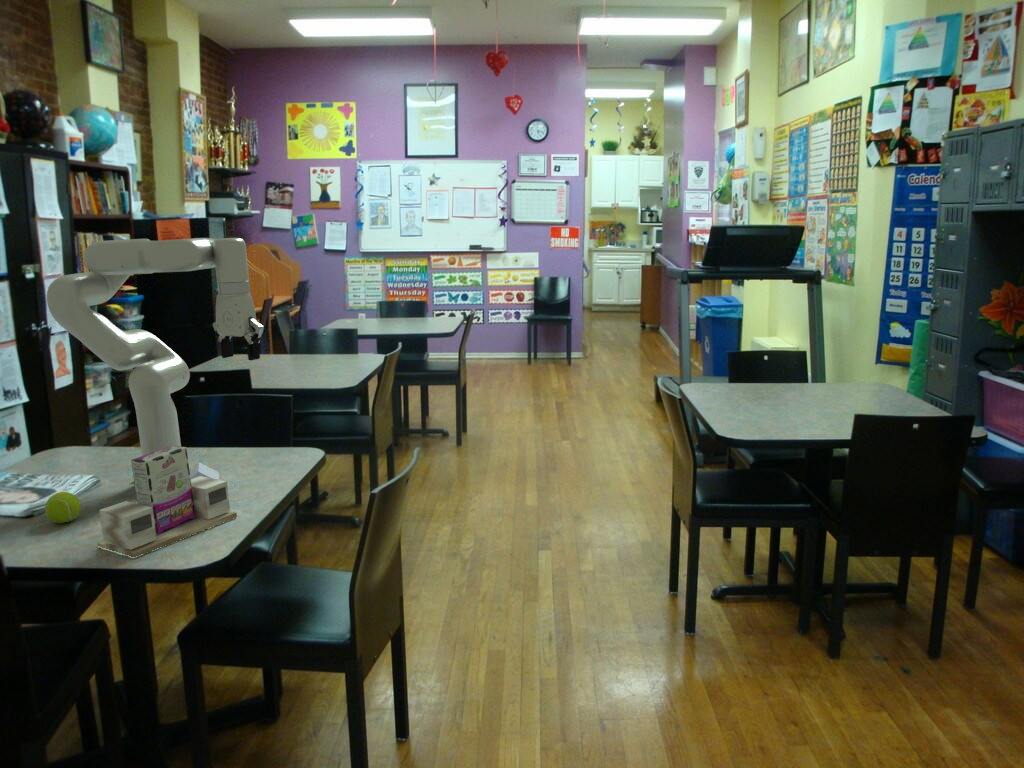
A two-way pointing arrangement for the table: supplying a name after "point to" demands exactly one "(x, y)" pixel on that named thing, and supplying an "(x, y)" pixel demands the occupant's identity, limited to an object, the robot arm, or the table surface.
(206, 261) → the robot arm
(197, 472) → the white angular piece
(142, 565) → the table surface
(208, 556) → the table surface
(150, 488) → the candy bar box
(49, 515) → the tennis ball
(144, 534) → the rail board
